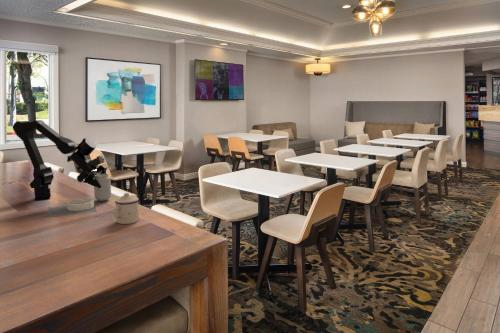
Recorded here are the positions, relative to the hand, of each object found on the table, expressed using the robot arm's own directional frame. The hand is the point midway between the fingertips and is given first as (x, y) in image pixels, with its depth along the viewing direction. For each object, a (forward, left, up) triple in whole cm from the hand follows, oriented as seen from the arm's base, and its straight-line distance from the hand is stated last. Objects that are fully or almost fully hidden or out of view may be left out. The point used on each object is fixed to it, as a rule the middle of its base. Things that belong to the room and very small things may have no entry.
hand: (105, 185), depth 182 cm
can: (-1, +1, -7) cm, 7 cm away
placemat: (-15, -9, -8) cm, 19 cm away
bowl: (-12, -8, -7) cm, 16 cm away
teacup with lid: (+4, -36, -8) cm, 37 cm away
